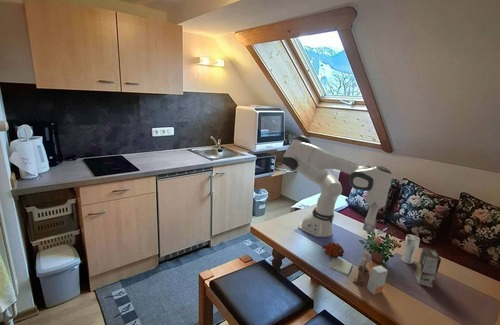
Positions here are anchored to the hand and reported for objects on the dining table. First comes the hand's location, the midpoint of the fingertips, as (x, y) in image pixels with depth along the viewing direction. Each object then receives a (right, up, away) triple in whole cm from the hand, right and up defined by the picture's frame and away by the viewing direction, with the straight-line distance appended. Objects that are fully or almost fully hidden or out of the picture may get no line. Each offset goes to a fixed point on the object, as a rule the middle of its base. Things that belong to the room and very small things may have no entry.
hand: (369, 225), depth 131 cm
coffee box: (+30, -30, +5) cm, 42 cm away
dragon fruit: (-13, -22, +18) cm, 31 cm away
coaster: (-11, -24, +11) cm, 29 cm away
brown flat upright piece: (-2, -27, +5) cm, 27 cm away
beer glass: (+31, -25, +21) cm, 45 cm away
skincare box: (0, -30, -5) cm, 30 cm away
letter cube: (0, -2, +1) cm, 2 cm away
